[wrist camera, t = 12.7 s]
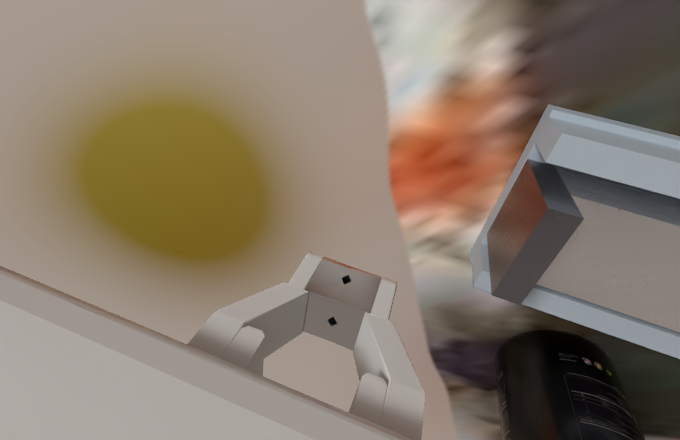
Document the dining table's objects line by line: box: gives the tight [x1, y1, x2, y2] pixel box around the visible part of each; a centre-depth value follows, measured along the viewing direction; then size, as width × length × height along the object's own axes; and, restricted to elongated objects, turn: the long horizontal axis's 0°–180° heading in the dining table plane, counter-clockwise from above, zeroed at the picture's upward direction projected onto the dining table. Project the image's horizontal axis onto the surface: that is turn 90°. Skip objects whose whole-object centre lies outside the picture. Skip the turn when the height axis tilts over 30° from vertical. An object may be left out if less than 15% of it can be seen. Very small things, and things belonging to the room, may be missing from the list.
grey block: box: [487, 159, 680, 332], centre depth 14 cm, size 10×4×5 cm, turn 80°
